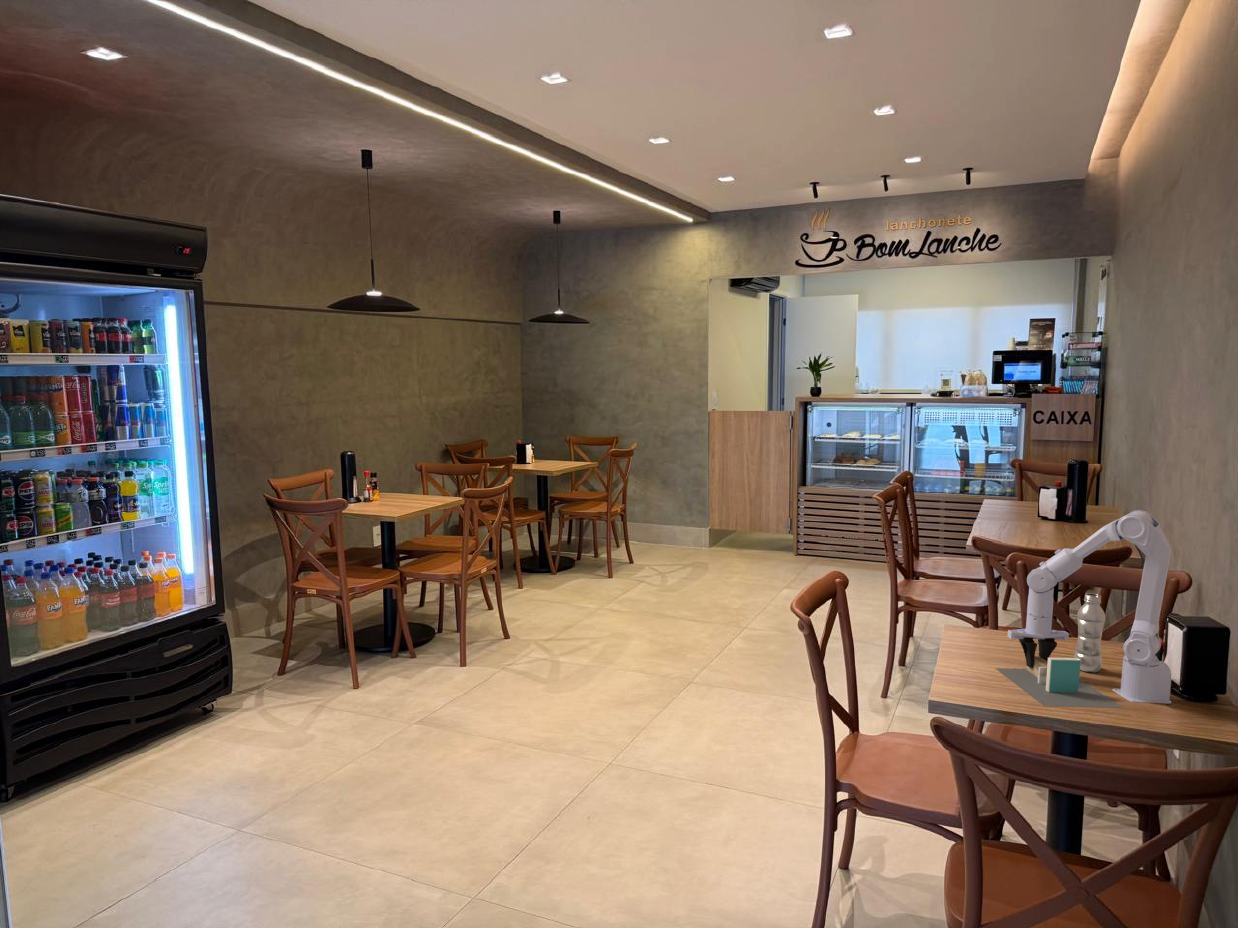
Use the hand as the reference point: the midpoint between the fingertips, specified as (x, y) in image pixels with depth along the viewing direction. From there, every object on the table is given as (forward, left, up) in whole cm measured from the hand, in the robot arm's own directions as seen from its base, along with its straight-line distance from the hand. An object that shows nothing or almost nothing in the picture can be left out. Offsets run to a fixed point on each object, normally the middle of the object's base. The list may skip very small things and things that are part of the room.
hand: (1035, 666), depth 211 cm
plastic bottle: (-15, -3, -2) cm, 16 cm away
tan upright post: (0, +3, -2) cm, 4 cm away
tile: (0, +13, -2) cm, 13 cm away
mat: (0, +10, -2) cm, 10 cm away
